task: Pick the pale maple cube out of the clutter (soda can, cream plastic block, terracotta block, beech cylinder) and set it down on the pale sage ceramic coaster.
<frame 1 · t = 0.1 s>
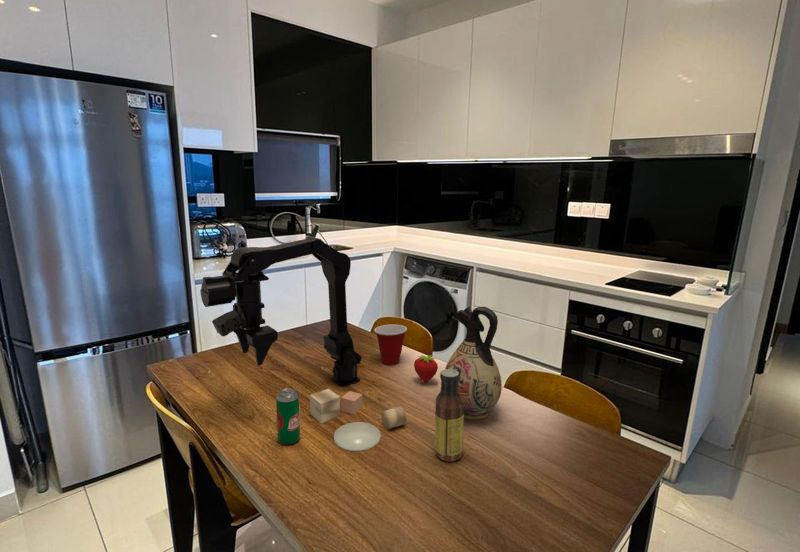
hand: (252, 358, 108), 15 cm above the table, fingers open, 9 cm apart
ceramic jug: (472, 413, 113), on the table
maple block: (325, 415, 110), on the table
soda can: (289, 440, 99), on the table
terracotta block: (351, 409, 113), on the table
plastic cup: (389, 362, 143), on the table
sauce bottle: (447, 455, 96), on the table
coaster: (357, 436, 101), on the table
cream block: (289, 419, 108), on the table
beech cylinder: (385, 420, 104), point 2 cm above the table, tilted 90°
strawberry: (425, 383, 129), on the table
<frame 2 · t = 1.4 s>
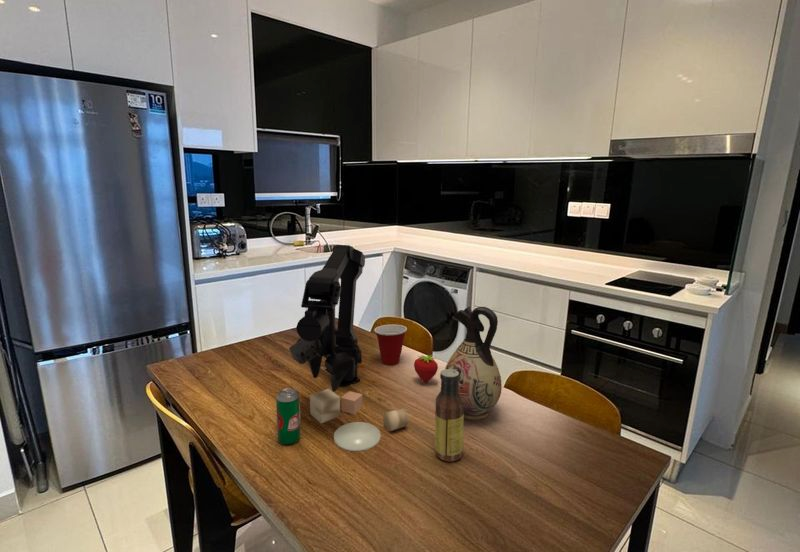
hand: (324, 384, 108), 9 cm above the table, fingers open, 9 cm apart
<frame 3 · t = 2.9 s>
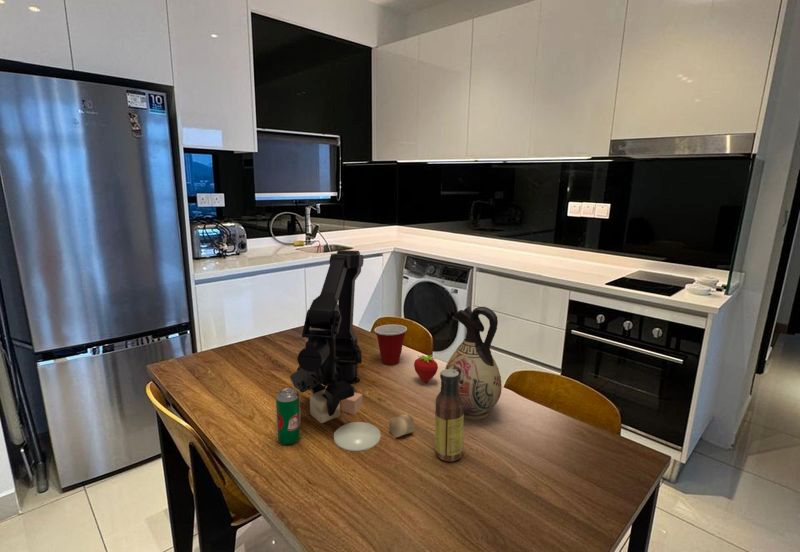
hand: (325, 410, 110), 1 cm above the table, fingers closed on maple block, 5 cm apart
maple block: (325, 415, 110), on the table, touching gripper
beech cylinder: (393, 428, 101), point 2 cm above the table, tilted 90°
everything else where it was.
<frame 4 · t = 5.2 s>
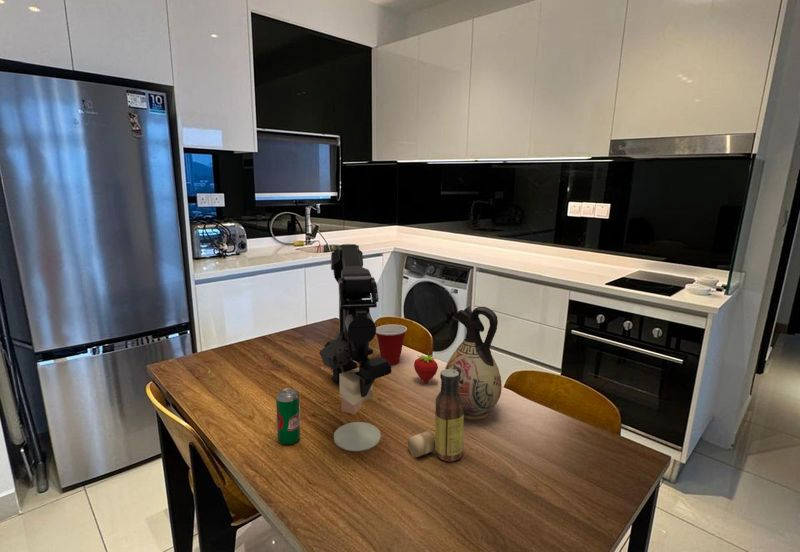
hand: (356, 391, 98), 12 cm above the table, fingers closed on maple block, 5 cm apart
maple block: (356, 396, 99), point 10 cm above the table, touching gripper
beech cylinder: (412, 447, 94), point 2 cm above the table, tilted 90°
everything else where it was.
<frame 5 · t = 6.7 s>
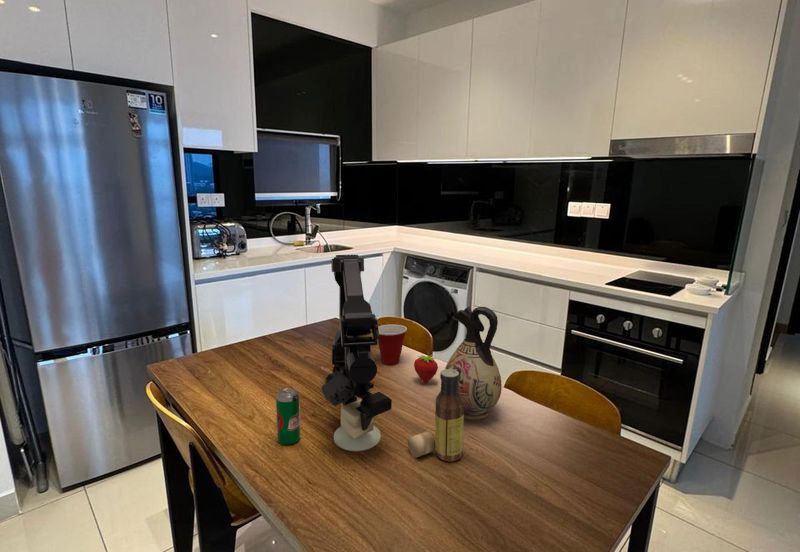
hand: (357, 424, 100), 3 cm above the table, fingers closed on maple block, 5 cm apart
maple block: (357, 429, 101), point 2 cm above the table, touching gripper
everything else where it was.
when the fingers open (3 cm above the table, at t = 7.7 s): maple block drops 1 cm, resting on coaster.
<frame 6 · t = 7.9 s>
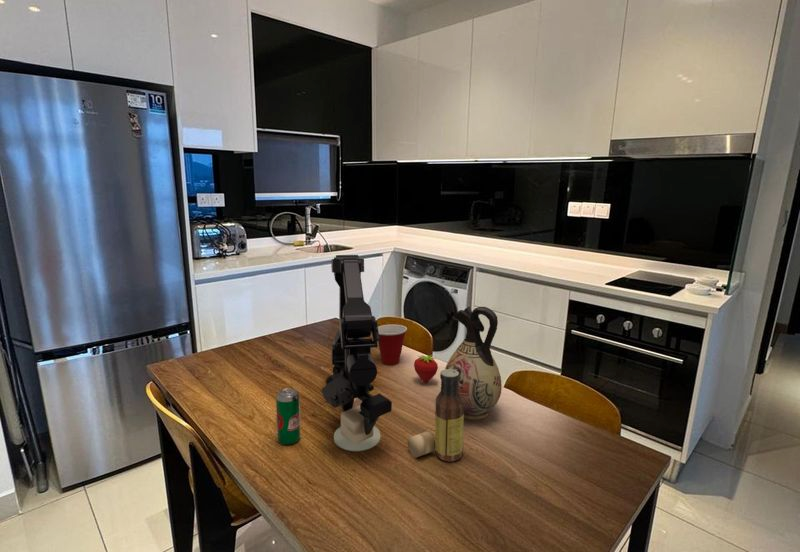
hand: (357, 426, 100), 3 cm above the table, fingers open, 8 cm apart
maple block: (357, 434, 101), resting on coaster
everything else where it was.
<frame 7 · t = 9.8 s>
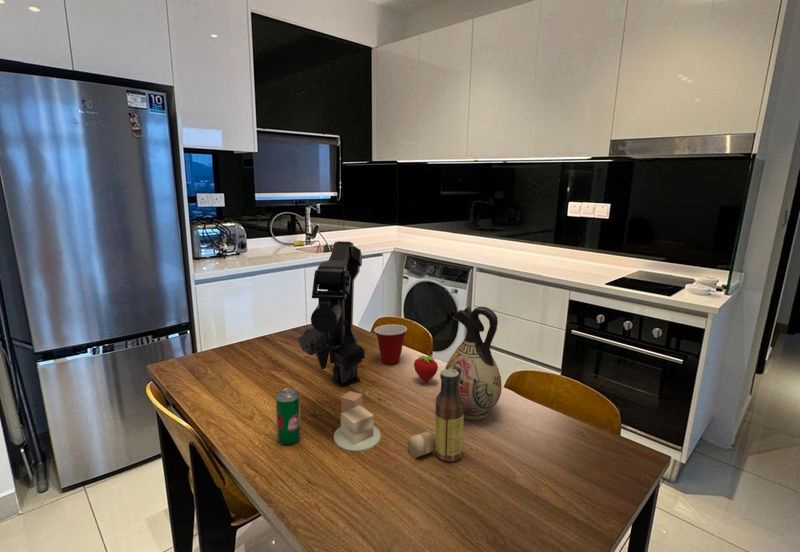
hand: (333, 375, 107), 12 cm above the table, fingers open, 9 cm apart
nothing on the table moved.
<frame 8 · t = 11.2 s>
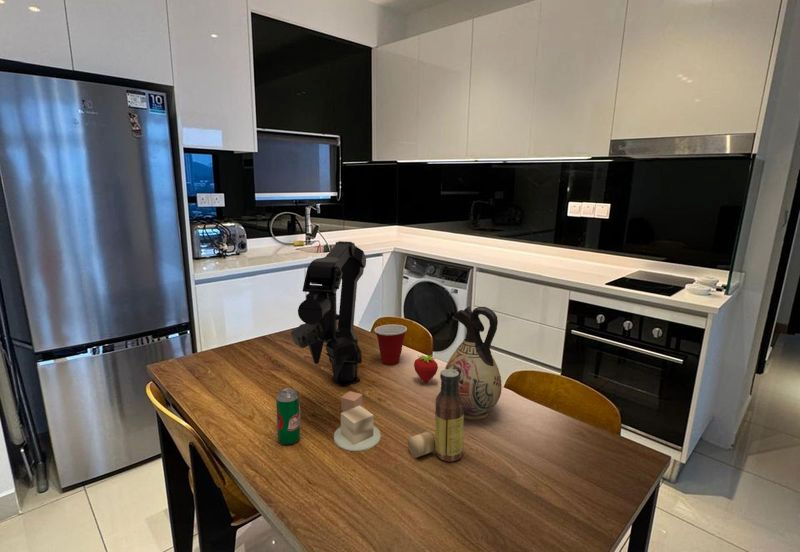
hand: (325, 369, 109), 12 cm above the table, fingers open, 9 cm apart
nothing on the table moved.
at the end: maple block 0.1 cm from the coaster (horizontally); maple block point 0.5 cm above the table; the gripper is holding nothing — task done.
